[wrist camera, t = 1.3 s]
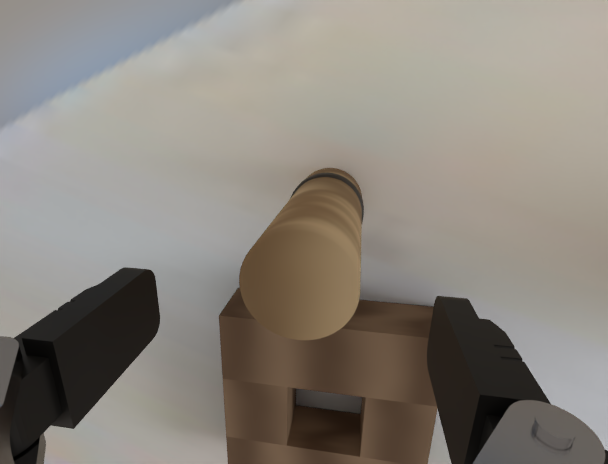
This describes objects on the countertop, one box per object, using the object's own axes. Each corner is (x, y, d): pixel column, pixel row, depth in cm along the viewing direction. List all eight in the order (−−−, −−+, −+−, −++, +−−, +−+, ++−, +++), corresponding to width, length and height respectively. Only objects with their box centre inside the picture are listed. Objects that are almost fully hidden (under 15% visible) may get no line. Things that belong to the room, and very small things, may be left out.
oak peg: (366, 163, 24) (368, 232, 11) (361, 224, 26) (358, 349, 12) (302, 160, 25) (233, 222, 12) (301, 220, 26) (238, 335, 13)
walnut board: (437, 307, 27) (449, 340, 23) (411, 469, 32) (417, 517, 28) (237, 288, 29) (219, 315, 25) (244, 443, 34) (229, 485, 30)
